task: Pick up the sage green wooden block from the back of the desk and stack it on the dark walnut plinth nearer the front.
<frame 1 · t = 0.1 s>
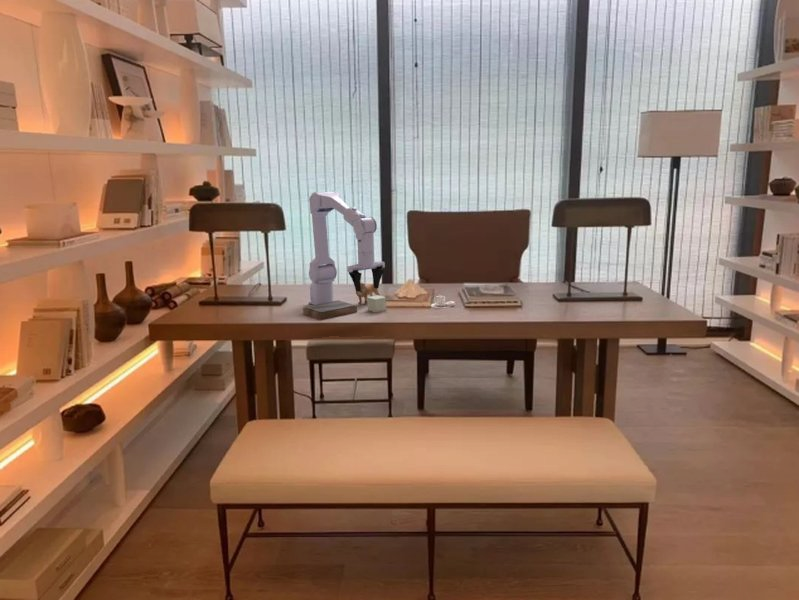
hand: (367, 289, 226), 10 cm above the table, tool pointing down, fingers open, 7 cm apart
sage block: (376, 310, 238), on the table
teacup and saucer: (444, 309, 240), on the table
lion figurine: (368, 303, 250), on the table
walnut plinth: (330, 312, 235), on the table
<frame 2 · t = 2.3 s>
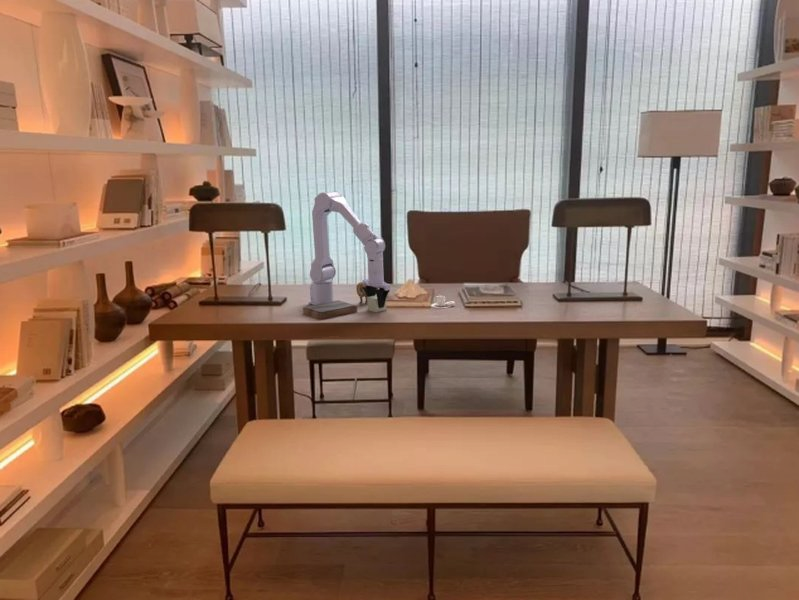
hand: (376, 306, 237), 1 cm above the table, tool pointing down, fingers closed on sage block, 5 cm apart
sage block: (376, 309, 238), on the table, touching gripper
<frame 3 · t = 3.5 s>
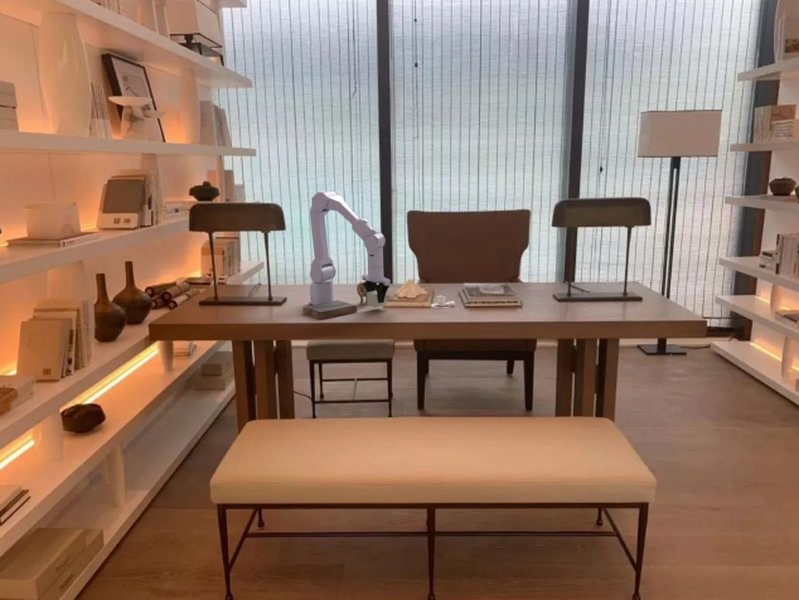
hand: (376, 301, 237), 3 cm above the table, tool pointing down, fingers closed on sage block, 5 cm apart
sage block: (376, 305, 237), point 2 cm above the table, touching gripper
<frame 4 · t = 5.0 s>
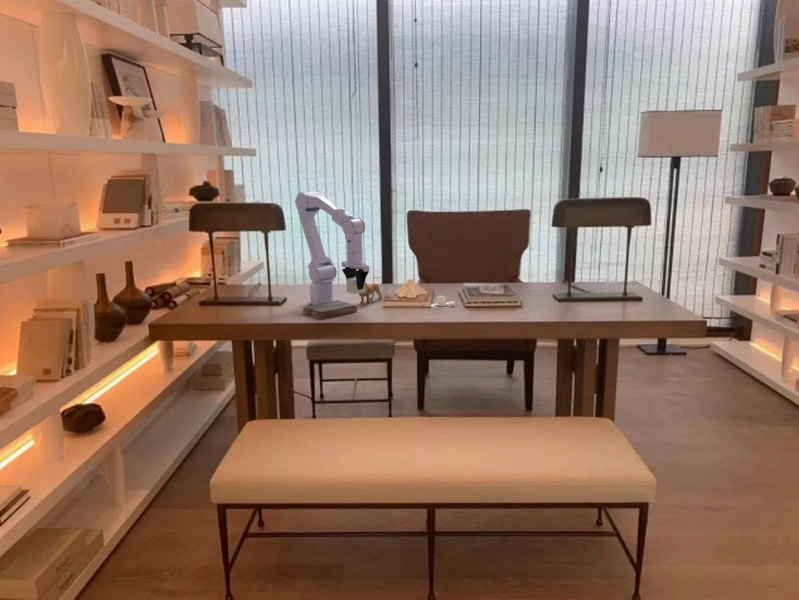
hand: (355, 288, 235), 9 cm above the table, tool pointing down, fingers closed on sage block, 5 cm apart
sage block: (356, 291, 235), point 7 cm above the table, touching gripper
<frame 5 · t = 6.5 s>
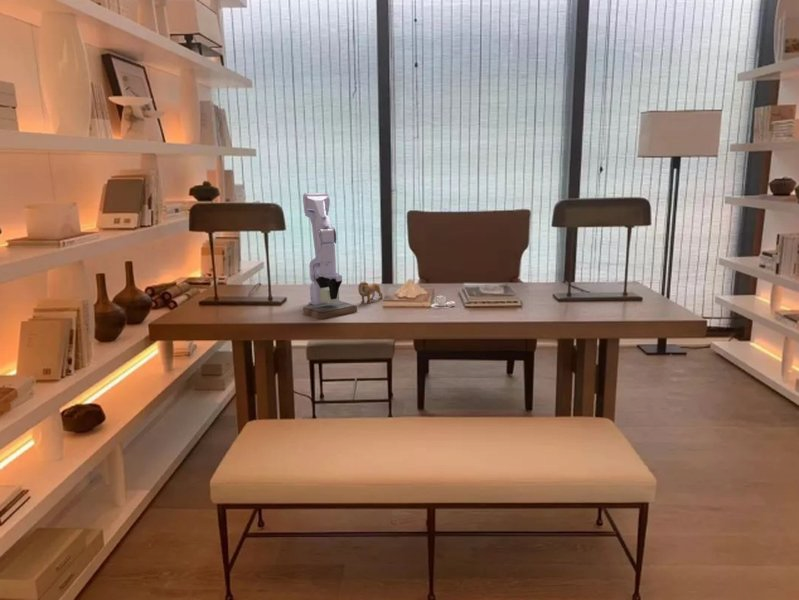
hand: (329, 297, 234), 6 cm above the table, tool pointing down, fingers closed on sage block, 5 cm apart
sage block: (329, 301, 234), point 4 cm above the table, touching gripper
when the fingers open (5 cm above the table, at t = 7.6 s): sage block stays where it is, resting on walnut plinth.
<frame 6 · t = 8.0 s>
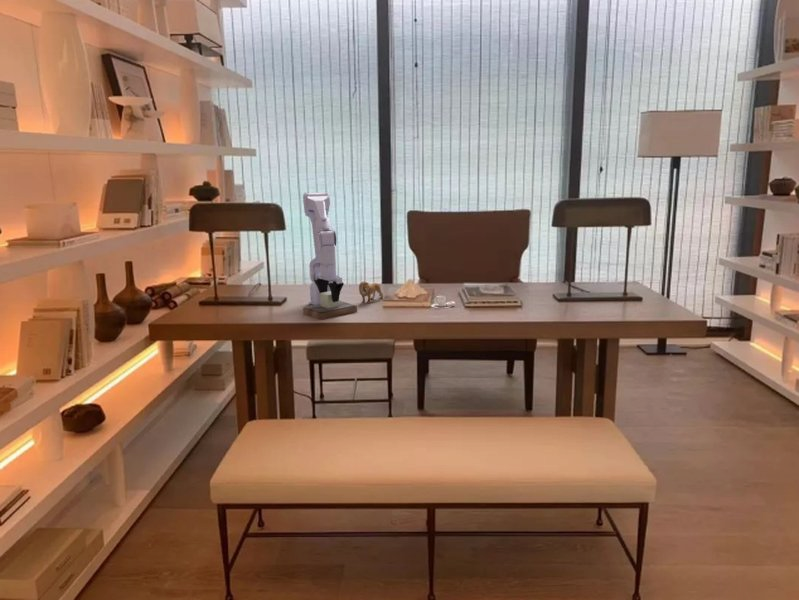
hand: (329, 299, 234), 5 cm above the table, tool pointing down, fingers open, 7 cm apart
sage block: (330, 306, 235), point 2 cm above the table, touching walnut plinth
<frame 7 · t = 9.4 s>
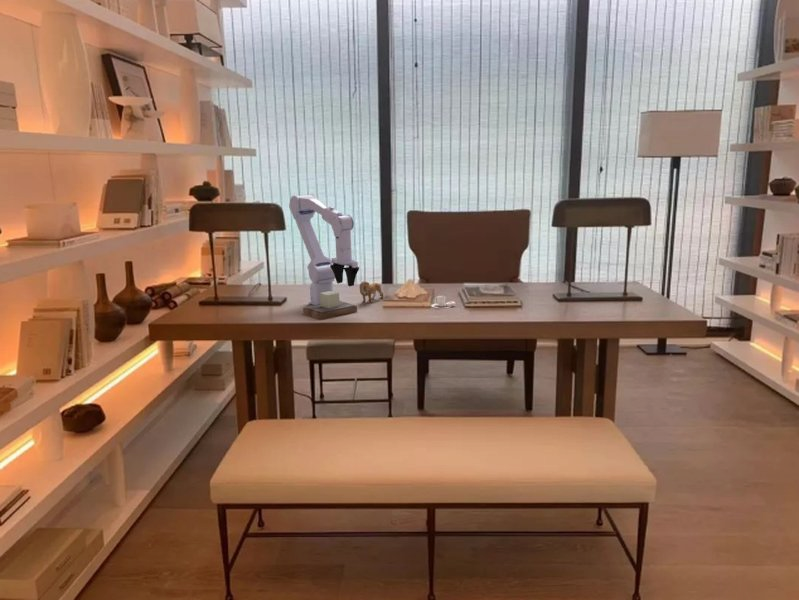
hand: (345, 284, 236), 10 cm above the table, tool pointing down, fingers open, 7 cm apart
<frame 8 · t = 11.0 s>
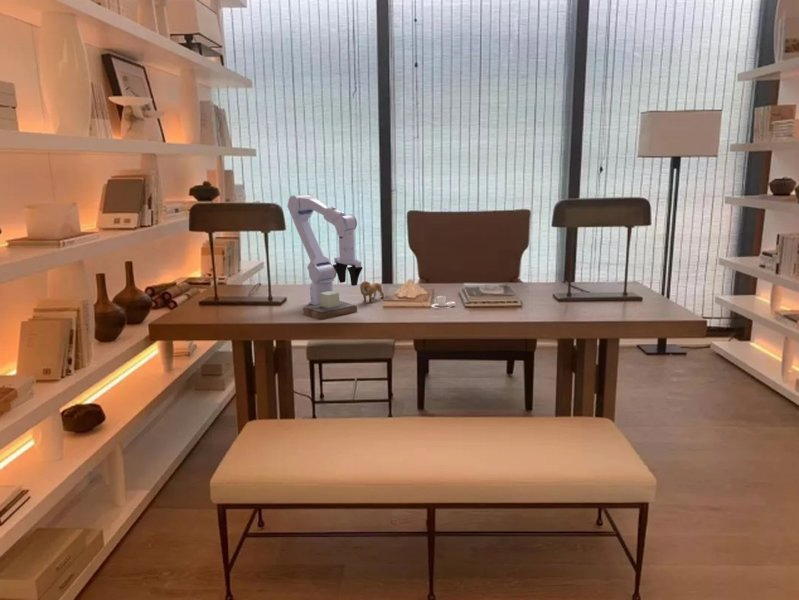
hand: (348, 283, 237), 10 cm above the table, tool pointing down, fingers open, 7 cm apart
at the end: sage block inside the target area on the walnut plinth (0.1 cm from its centre), point 2.5 cm above the walnut plinth's base; sage block tilted 0°; the gripper is holding nothing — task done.
